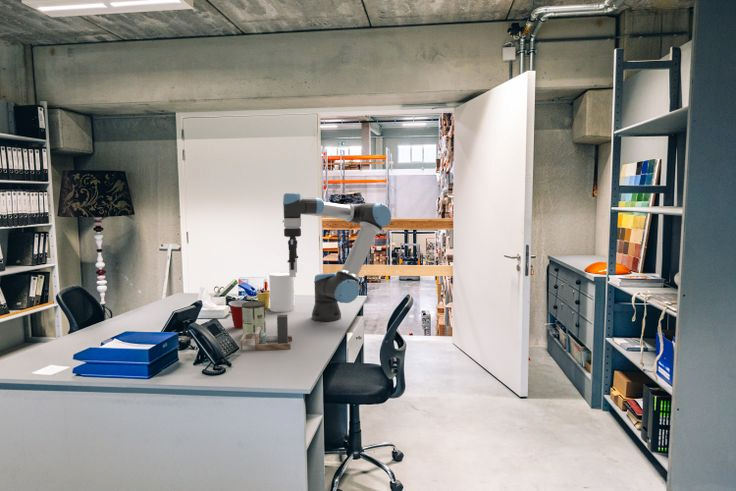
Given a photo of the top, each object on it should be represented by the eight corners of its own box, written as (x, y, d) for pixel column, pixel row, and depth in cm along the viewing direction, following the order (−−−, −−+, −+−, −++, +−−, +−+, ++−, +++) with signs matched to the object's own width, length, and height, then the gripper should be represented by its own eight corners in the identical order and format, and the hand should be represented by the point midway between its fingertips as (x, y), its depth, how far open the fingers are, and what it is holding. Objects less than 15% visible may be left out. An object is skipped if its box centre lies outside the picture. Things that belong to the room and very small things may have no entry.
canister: (282, 305, 274) (282, 271, 272) (299, 308, 266) (299, 273, 264) (265, 309, 263) (264, 274, 261) (282, 313, 255) (281, 276, 253)
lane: (292, 340, 205) (291, 325, 204) (290, 348, 193) (290, 333, 192) (244, 341, 203) (244, 326, 202) (240, 350, 191) (239, 334, 190)
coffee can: (250, 330, 221) (250, 300, 220) (270, 332, 218) (269, 301, 217) (238, 336, 211) (237, 305, 210) (258, 338, 208) (257, 306, 207)
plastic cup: (246, 330, 220) (245, 305, 219) (224, 329, 222) (224, 304, 221) (256, 324, 231) (255, 300, 230) (235, 323, 233) (235, 299, 232)
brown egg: (252, 334, 199) (250, 343, 199) (250, 336, 195) (249, 346, 195) (261, 335, 199) (259, 344, 199) (260, 338, 195) (258, 347, 195)
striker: (288, 342, 201) (287, 314, 200) (287, 345, 196) (286, 316, 195) (263, 343, 200) (262, 315, 198) (262, 346, 195) (261, 317, 194)
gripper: (285, 226, 224) (286, 270, 226) (281, 229, 199) (282, 279, 201) (301, 226, 225) (302, 270, 227) (299, 229, 200) (300, 278, 202)
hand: (293, 274), depth 214 cm, fingers open, 13 cm apart
